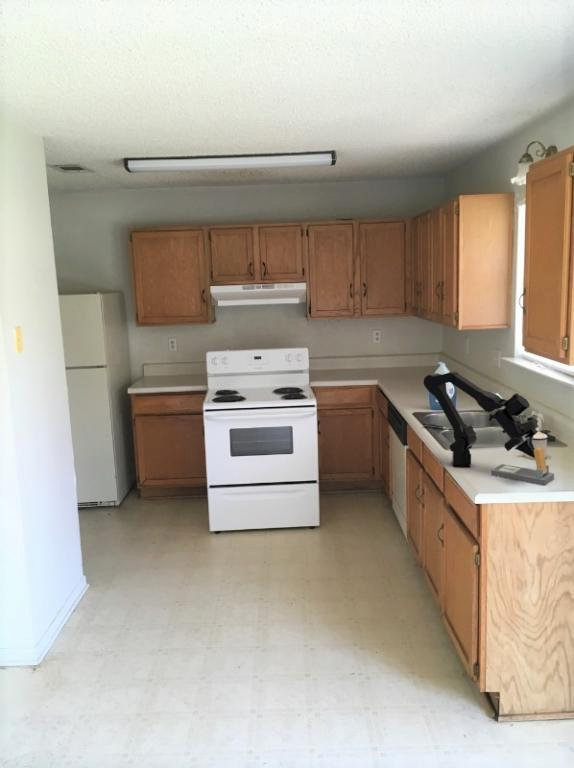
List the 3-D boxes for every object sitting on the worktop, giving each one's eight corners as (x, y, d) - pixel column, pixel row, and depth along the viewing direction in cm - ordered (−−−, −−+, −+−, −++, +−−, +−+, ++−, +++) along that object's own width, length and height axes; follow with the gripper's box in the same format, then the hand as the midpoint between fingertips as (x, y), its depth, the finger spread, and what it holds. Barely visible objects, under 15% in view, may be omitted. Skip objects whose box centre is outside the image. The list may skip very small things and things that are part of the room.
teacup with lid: (542, 453, 262) (544, 426, 260) (549, 460, 253) (551, 432, 251) (513, 453, 264) (514, 426, 262) (518, 459, 255) (520, 431, 253)
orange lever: (538, 476, 227) (533, 450, 227) (542, 473, 230) (537, 447, 230) (543, 476, 225) (538, 449, 225) (547, 473, 229) (543, 447, 228)
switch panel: (491, 475, 235) (491, 461, 235) (501, 468, 243) (502, 455, 242) (544, 485, 223) (545, 471, 222) (553, 478, 230) (554, 465, 229)
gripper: (514, 415, 222) (544, 450, 217) (534, 406, 236) (562, 439, 231) (492, 433, 228) (520, 468, 223) (512, 423, 242) (539, 456, 237)
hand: (536, 457), depth 228 cm, fingers closed, pressing on orange lever
